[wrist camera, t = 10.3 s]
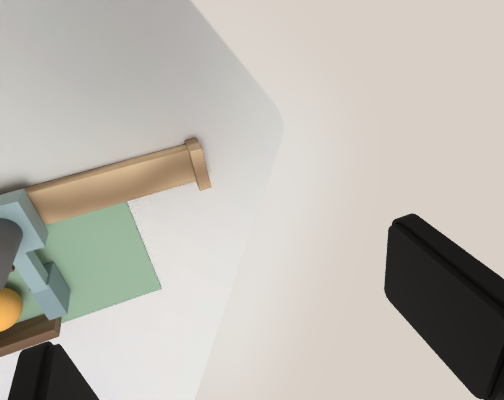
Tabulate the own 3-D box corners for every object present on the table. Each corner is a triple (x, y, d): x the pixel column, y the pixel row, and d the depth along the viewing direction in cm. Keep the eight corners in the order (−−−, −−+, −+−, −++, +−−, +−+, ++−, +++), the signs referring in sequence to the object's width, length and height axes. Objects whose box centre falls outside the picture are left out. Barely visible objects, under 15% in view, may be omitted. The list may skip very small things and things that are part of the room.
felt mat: (-88, 262, 34) (-89, 264, 34) (125, 200, 38) (126, 201, 38) (-13, 347, 41) (-14, 348, 41) (161, 287, 45) (161, 288, 45)
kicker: (-33, 197, 32) (-81, 265, 24) (26, 181, 33) (-1, 242, 25) (38, 301, 40) (20, 379, 32) (85, 285, 41) (78, 358, 33)
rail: (-56, 205, 32) (-70, 222, 30) (195, 137, 37) (201, 148, 34) (-29, 242, 35) (-40, 262, 32) (205, 175, 39) (211, 187, 37)
